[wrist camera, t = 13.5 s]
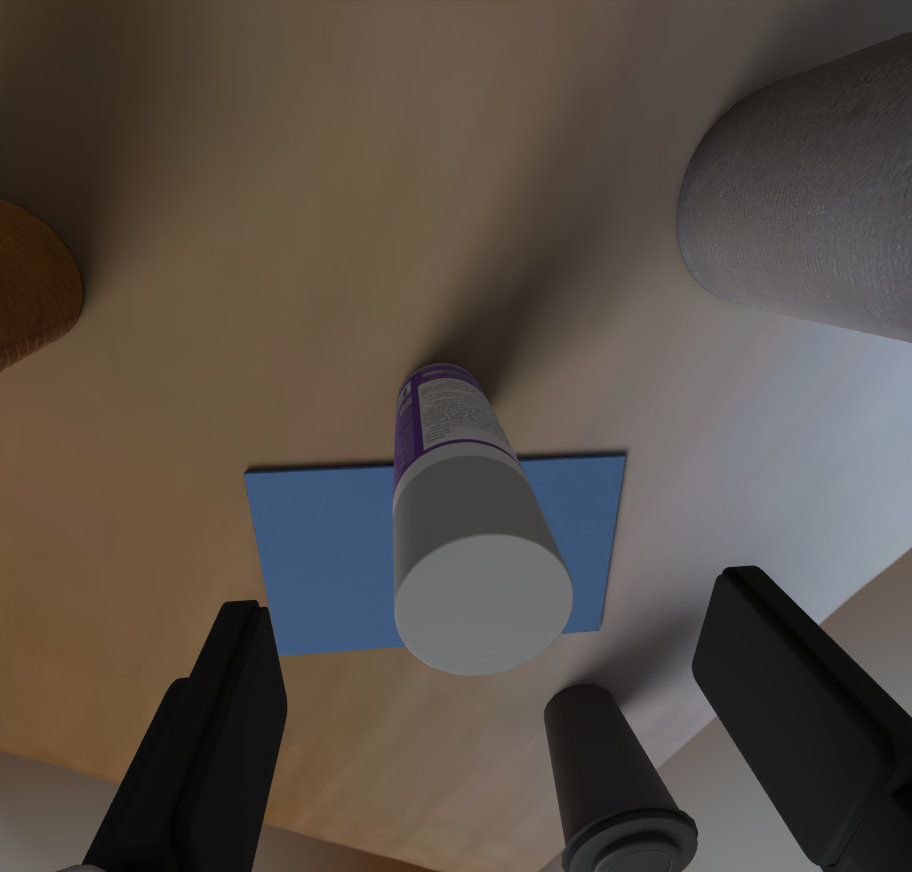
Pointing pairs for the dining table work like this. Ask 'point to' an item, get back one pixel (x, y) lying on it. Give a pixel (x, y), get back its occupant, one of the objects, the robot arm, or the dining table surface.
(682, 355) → the dining table surface
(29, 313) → the disposable coffee cup
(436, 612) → the container
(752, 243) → the pillar candle
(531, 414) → the dining table surface
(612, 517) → the napkin
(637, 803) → the coffee cup
